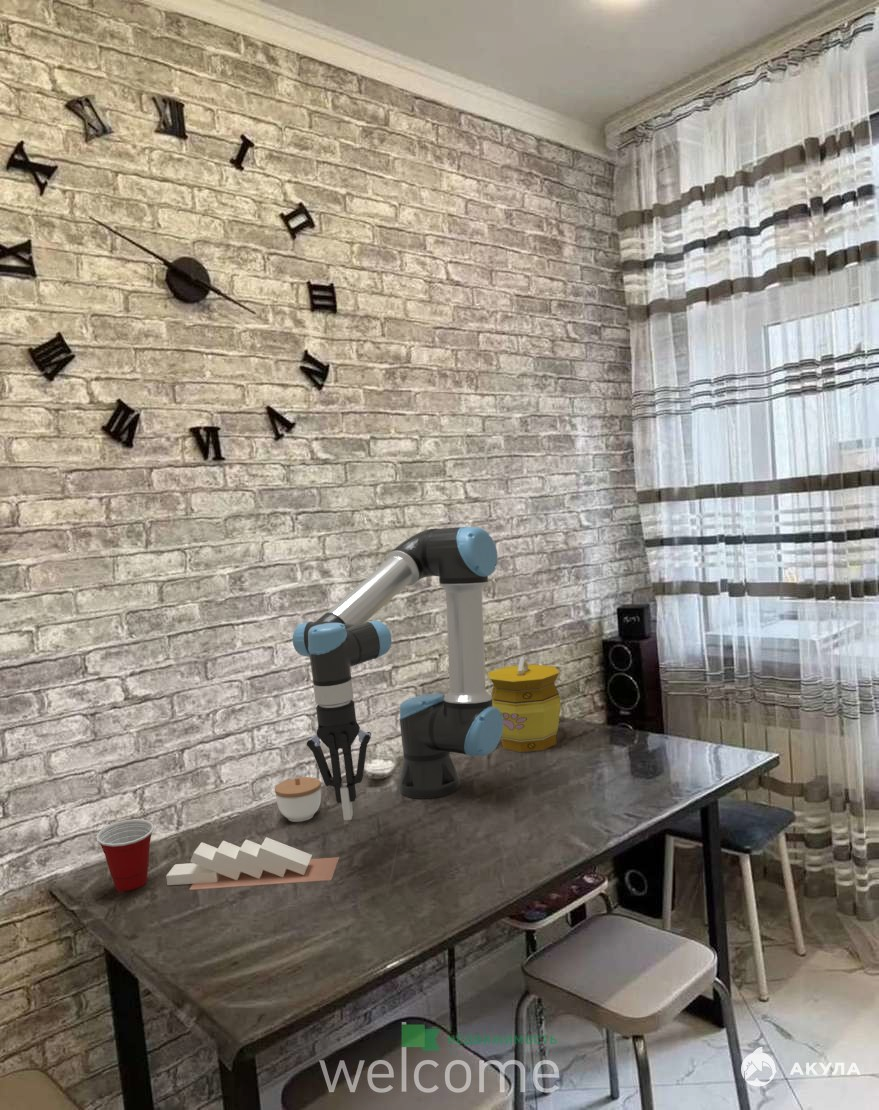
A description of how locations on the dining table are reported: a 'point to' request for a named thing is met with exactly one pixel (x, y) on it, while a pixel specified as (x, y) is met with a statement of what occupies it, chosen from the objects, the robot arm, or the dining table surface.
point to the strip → (314, 872)
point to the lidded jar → (299, 798)
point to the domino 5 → (284, 856)
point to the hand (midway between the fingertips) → (348, 816)
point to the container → (527, 705)
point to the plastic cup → (127, 852)
